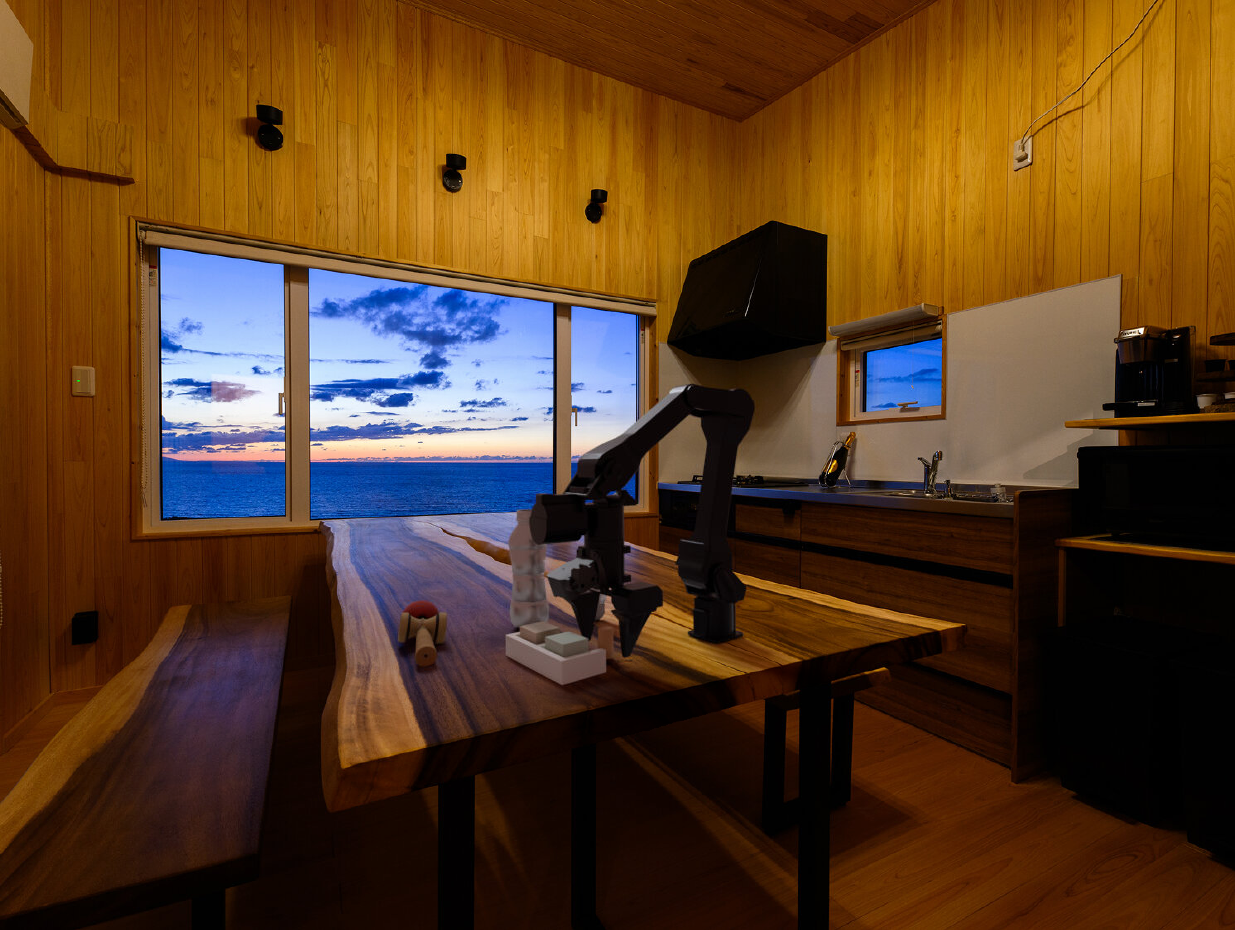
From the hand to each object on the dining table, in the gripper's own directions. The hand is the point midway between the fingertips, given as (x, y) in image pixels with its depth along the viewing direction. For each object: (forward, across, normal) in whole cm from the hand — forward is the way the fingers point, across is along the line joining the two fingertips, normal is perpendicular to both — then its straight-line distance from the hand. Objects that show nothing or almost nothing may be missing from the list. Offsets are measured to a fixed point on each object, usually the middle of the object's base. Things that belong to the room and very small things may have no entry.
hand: (605, 648), depth 84 cm
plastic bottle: (+2, -22, 0) cm, 22 cm away
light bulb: (+2, -18, +11) cm, 21 cm away
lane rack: (+2, -4, -6) cm, 8 cm away
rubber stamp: (+2, 0, -4) cm, 4 cm away
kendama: (+2, -23, -18) cm, 29 cm away
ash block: (+2, -7, -7) cm, 10 cm away
